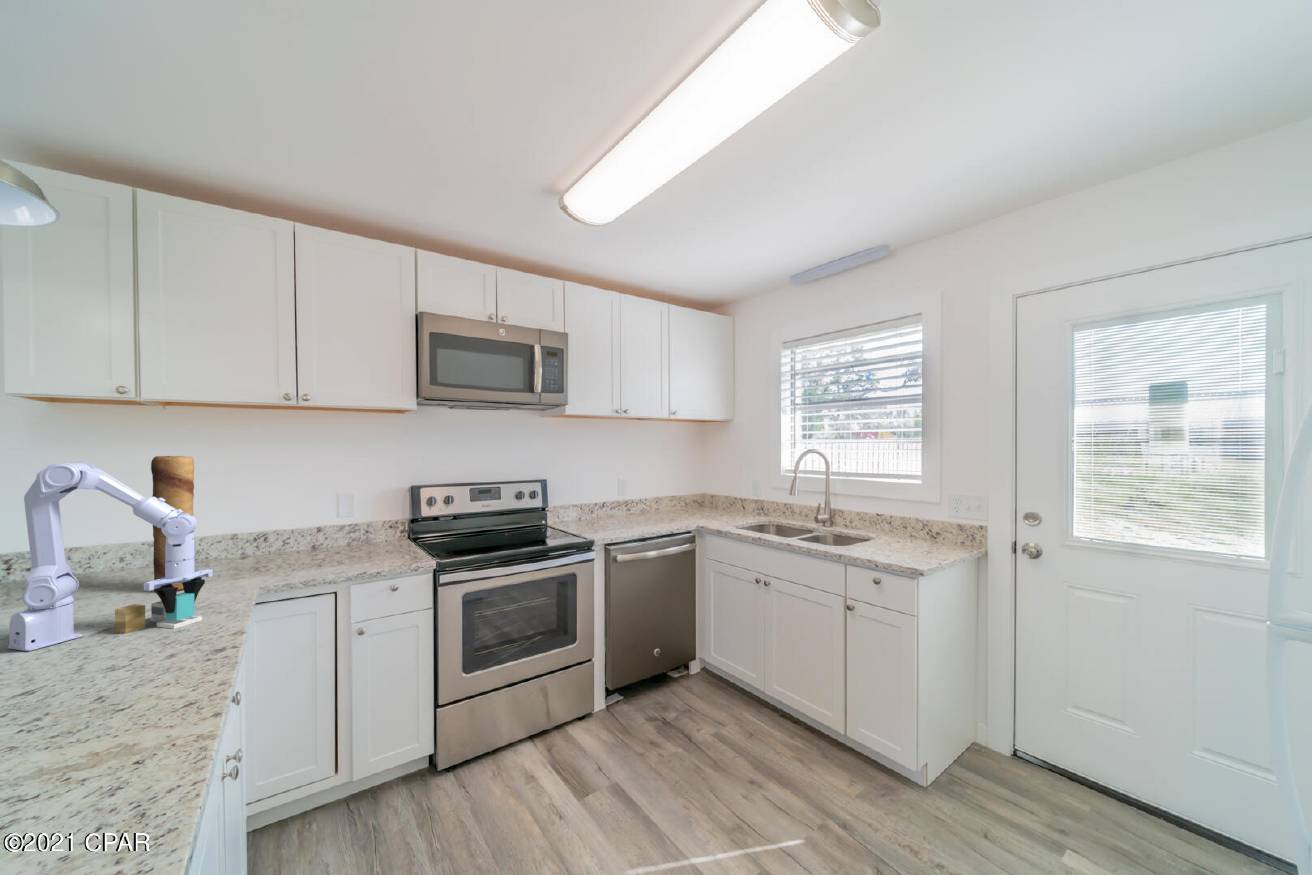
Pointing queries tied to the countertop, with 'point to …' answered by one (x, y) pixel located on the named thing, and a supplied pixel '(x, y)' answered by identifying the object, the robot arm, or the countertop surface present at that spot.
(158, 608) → the block
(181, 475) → the brown striped cylinder
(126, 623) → the ochre block
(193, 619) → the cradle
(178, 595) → the teal block
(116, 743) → the countertop surface
